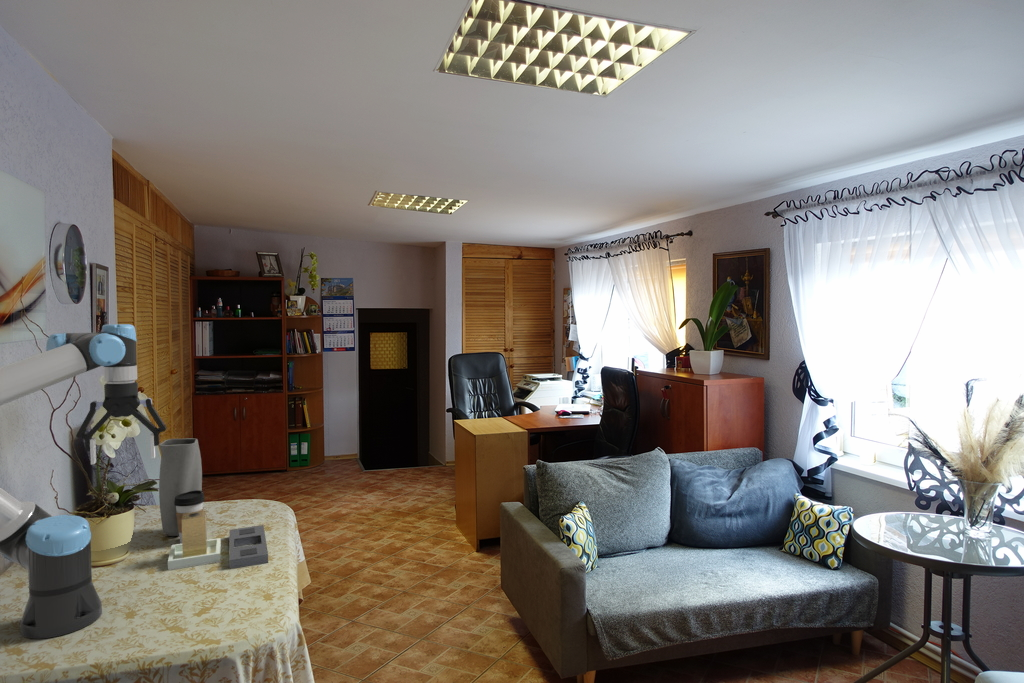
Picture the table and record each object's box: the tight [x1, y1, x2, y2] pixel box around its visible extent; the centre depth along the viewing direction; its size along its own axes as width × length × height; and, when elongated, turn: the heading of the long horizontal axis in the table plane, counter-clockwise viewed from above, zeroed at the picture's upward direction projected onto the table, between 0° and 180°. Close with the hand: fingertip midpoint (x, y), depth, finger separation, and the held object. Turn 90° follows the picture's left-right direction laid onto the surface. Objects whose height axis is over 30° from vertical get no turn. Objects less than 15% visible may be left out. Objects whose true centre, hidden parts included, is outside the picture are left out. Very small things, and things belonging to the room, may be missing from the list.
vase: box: [158, 437, 203, 537], centre depth 195 cm, size 12×12×30 cm
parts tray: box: [167, 537, 222, 571], centre depth 176 cm, size 13×13×2 cm
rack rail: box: [228, 524, 269, 570], centre depth 182 cm, size 26×10×3 cm, turn 25°
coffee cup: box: [174, 490, 205, 544], centre depth 188 cm, size 8×8×15 cm
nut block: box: [182, 510, 208, 558], centre depth 176 cm, size 6×6×12 cm
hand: (123, 460), depth 162 cm, fingers open, 13 cm apart
